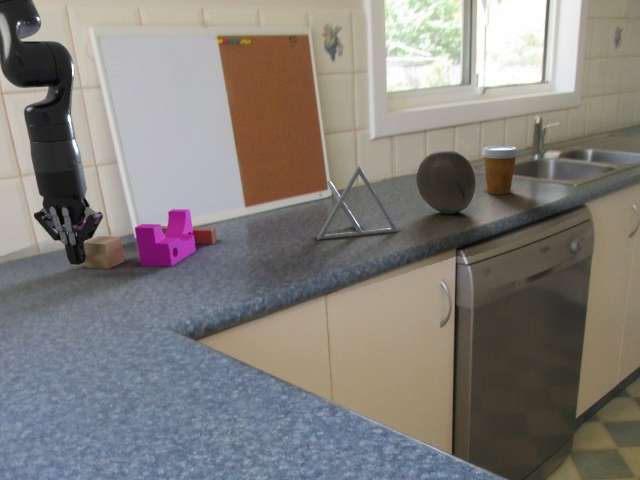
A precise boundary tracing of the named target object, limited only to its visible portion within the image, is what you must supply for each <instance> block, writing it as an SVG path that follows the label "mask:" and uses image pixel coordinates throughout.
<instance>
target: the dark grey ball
mask: <svg viewBox="0 0 640 480" xmlns="http://www.w3.org/2000/svg"><path fill="white" fill-rule="evenodd" d="M415 179H416V186H417V190H418V193H419V195H420V197H421V198H422V199H423V201H424V202H425V203H426V204H427V205H428V206H429V207H430V208H432V209H433V210H435V211H437V212H439V213H442V214H445V215H456V214H458V213H460V212H462V211H464V210H465V209H466V208H468V207H469V205H470V204H471V203H472V200H473V198H474V194H475V190H476V175H475V171H474V169H473V166H472V164H471V163H470V161H469V160H468V159H467V158H466V157H465V156H464V155H463V154H462V153H460V152H458V151H454V150H438V151H432V152H431V153H429V154H428V155H427V156H426V157H425V158H423V160H422V161H421V162H420V163H419V166H418V169H417V172H416V178H415Z"/></svg>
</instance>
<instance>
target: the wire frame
mask: <svg viewBox="0 0 640 480" xmlns="http://www.w3.org/2000/svg"><path fill="white" fill-rule="evenodd" d="M358 177H360V179H361V180H362V181H363V183H364V185H365V186H366V189H367V190H368V191H369V193H370V195H371V196H372V198H373V200H374V201H375V203H376V205H377V206H378V208H379V209H380V211H381V213H382V214H383V216H384V218H385V220H386V221H387V223H388V225H389V226H390V228H389V227H388V228H379V229H370V230H362V229H361V226H360V225H359V223H358V222H357V220H356V218H355V217H354V215H353V214H352V212H351V210H350V209H349V207H348V205H347V204H346V202H345V199H346V198H347V196H348V194H349V193H350V191H351V189H352V187H353V186H354V183H356V181H357V178H358ZM326 184H327V186H328V188H329V190H330V192H331V193H332V195H333V197H334V198H335V200H336V201H337V202H336V203H335V205H334V207H333V209H332V211H331V213H330V214H329V216H328V218H327V219H326V221H325V223H324V225H323V226H322V229H320V232H319V234H318V235H317V237H316V239H317V240H328V239H338V238H348V237H359V236H367V235H368V236H369V235H377V234H389V233H396V232H397V233H398V232H399V229H398V227H397V226H396V224H395V223H394V221H393V219H392V217H391V215H390V214H389V213H388V211H387V209H386V207H385V205H384V204H383V202H382V201H381V199H380V198H379V195H378V194H377V192H376V191H375V189H374V187H373V186H372V184H371V182H370V180H369V179H368V177H367V176H366V174H365V172H364V170H363V169H362V167H361V166H360V165H358V166H357V167H356V169H355V170H354V172H353V174H352V176H351V178H350V179H349V181H348V183H347V185H346V187H344V189H343V192H342V194H341V195H340V193H339V192H338V190H337V188H336V187H335V185H334V184H333V183H332V181H331V180H328V181H327V182H326ZM340 208H341V209H342V211H343V212H344V214H345V216H346V217H347V219H348V220H349V222H350V223H351V225H352V226H353V228H354V230H355V231H348V232H339V233H328V234H326V232H327V231H328V229H329V227H330V226H331V224H332V222H333V220H334V218H335V217H336V215H337V214H338V212H339V210H340Z"/></svg>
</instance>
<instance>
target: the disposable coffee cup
mask: <svg viewBox="0 0 640 480" xmlns="http://www.w3.org/2000/svg"><path fill="white" fill-rule="evenodd" d="M518 154H519V152H518V151H517V147H515V146H511V145H493V146H485V147H484V148H483V151H482V157H483V163H484V173H485V184H486V193H488V194H492V195H493V194H494V195H507V194H510V193H511V188H512V184H513V177H514V171H515V165H516V159H517V157H518V156H517V155H518Z"/></svg>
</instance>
